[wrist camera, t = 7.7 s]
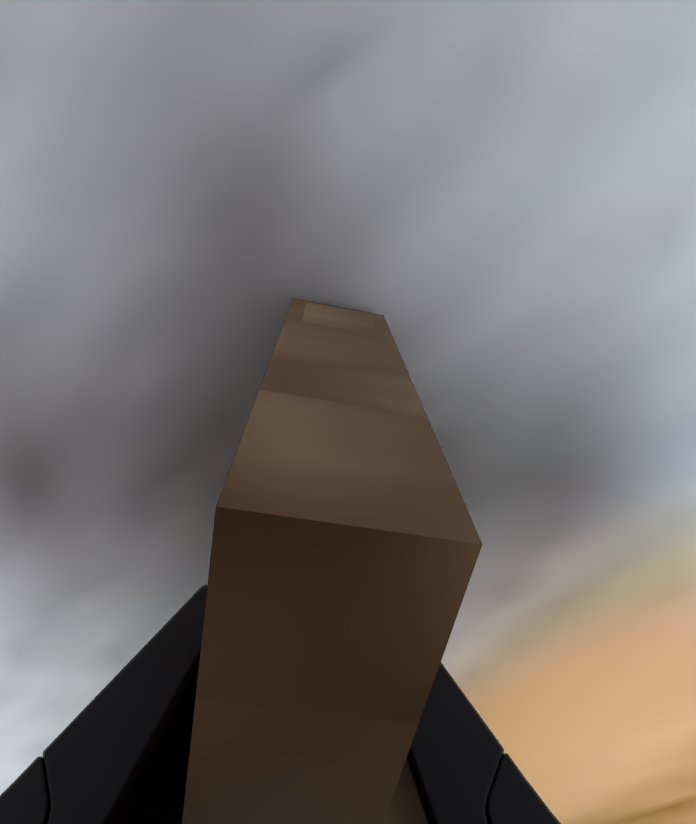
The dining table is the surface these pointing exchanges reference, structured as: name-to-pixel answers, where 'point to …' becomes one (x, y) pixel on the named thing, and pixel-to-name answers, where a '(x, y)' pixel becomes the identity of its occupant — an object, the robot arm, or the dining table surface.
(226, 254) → the dining table surface
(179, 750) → the robot arm
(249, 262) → the dining table surface
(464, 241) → the dining table surface
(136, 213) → the dining table surface
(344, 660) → the wooden frame
